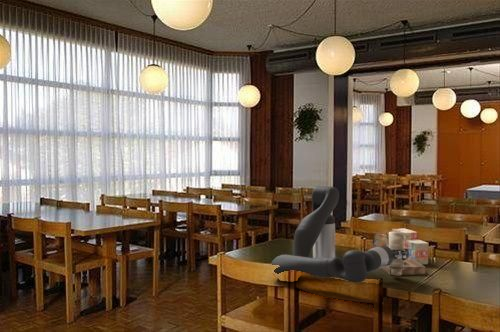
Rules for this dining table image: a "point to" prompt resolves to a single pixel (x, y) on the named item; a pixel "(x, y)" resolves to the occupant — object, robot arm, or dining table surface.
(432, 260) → the dining table surface
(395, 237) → the dowel
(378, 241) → the tin
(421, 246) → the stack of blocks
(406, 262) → the board
